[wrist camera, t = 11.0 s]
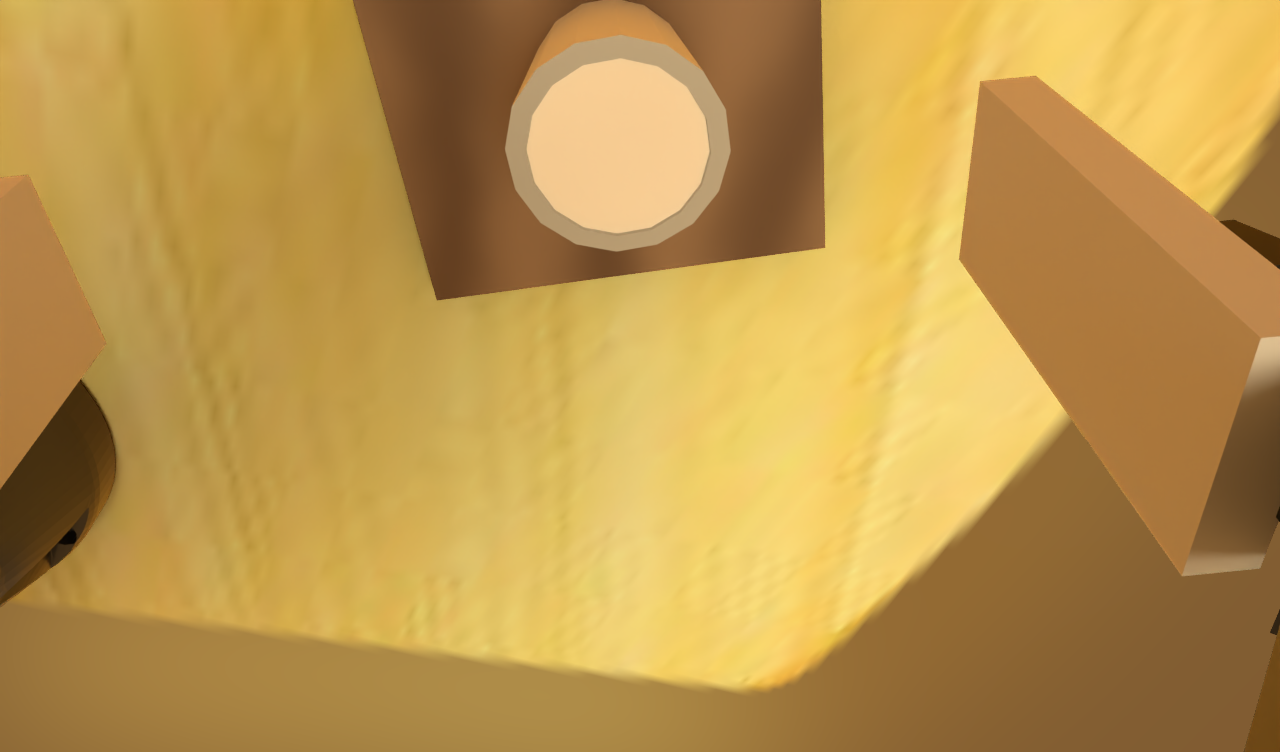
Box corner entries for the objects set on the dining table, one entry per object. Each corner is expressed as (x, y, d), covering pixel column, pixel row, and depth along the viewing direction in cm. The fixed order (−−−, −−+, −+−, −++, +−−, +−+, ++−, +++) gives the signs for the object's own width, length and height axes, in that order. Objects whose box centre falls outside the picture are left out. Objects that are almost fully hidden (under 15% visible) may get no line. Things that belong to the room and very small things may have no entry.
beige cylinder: (657, 194, 38) (672, 282, 32) (489, 127, 36) (473, 207, 30) (739, 28, 35) (772, 93, 29) (558, -56, 33) (554, -5, 27)
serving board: (440, 282, 41) (437, 300, 40) (325, -139, 32) (315, -133, 31) (817, 231, 41) (825, 247, 40) (807, -210, 32) (816, -206, 31)
